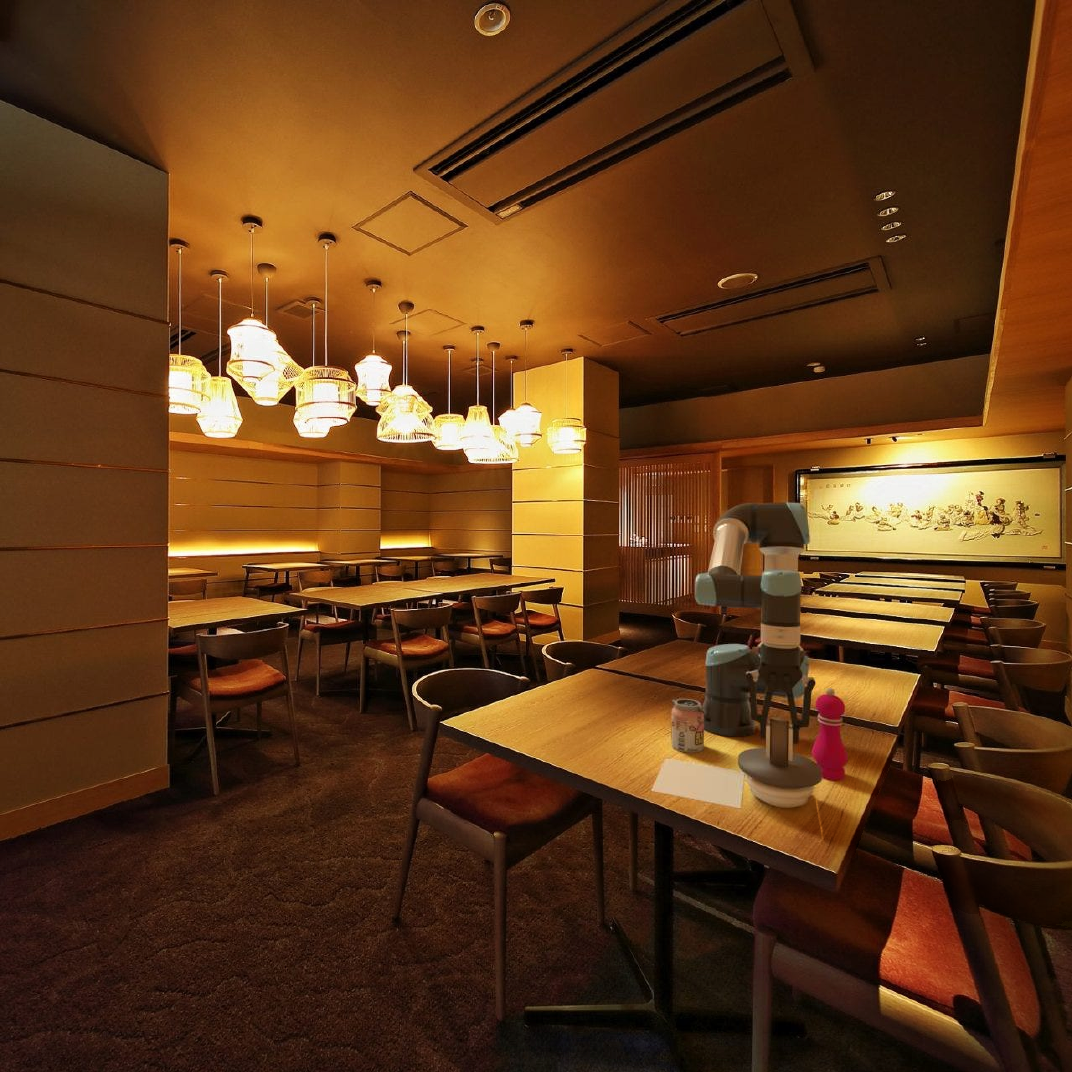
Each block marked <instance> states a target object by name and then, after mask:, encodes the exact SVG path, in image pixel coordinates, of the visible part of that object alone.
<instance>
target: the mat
mask: <svg viewBox="0 0 1072 1072" xmlns="http://www.w3.org/2000/svg"><path fill="white" fill-rule="evenodd" d="M744 781H745V773H744V772H743V771H742V770H737V769H731V768H724V767H719V766H714V765H708V764H702V763H697V762H692V761H691V762H689V761H684V760H681V759H680V760H679V759H673V758H665V759H664V761H663V763H662V765H661V768H660V769H659V771H658V774H657V776H656V779H655V781H654V783H653V785H652V788H651V790H650V791H651V792H655V793H658V794H664V795H670V796H673V797H679V798H684V799H690V800H695V801H699V802H704V803H708V804H714V805H718V806H724V807H730V808H735V809H740V810H741V809H742V801H743V791H744V790H743V789H744Z"/></svg>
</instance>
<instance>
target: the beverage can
mask: <svg viewBox="0 0 1072 1072" xmlns="http://www.w3.org/2000/svg"><path fill="white" fill-rule="evenodd" d="M671 704H672V705H673V707H672V709H671V720H670V721H671V722H670V723H671V726H670V727H671V730H670V731H671V732H670V733H671V736H670V737H671V740H670V742H671V743H670V745H671V747H672V748H673V749H674V750H676V751H678V752H682V753H687V754H697V753H700V752H702V751H703V750H704V748H705V729H704V715H706V713H707V711H706V710H705V709H704V708H703V705H702V703H701V702H700V701H699V700H695V699H691V698H678V699H672V700H671Z"/></svg>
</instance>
